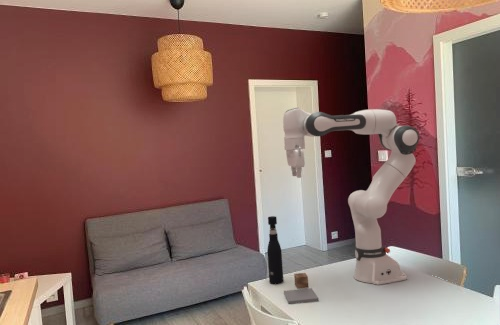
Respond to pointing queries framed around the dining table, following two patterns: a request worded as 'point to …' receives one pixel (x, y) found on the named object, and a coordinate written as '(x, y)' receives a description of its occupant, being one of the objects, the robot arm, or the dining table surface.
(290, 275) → the dining table surface
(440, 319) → the dining table surface
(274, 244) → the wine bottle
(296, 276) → the walnut block
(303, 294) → the slate board
